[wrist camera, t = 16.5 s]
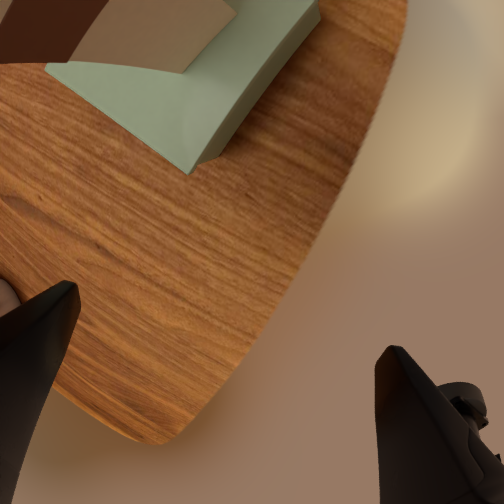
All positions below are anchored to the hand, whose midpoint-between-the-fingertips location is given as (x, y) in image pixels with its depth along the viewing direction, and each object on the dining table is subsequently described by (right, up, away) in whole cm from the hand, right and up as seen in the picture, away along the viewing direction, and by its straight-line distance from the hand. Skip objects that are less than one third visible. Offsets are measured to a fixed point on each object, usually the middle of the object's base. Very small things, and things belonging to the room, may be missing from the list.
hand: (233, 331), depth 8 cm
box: (-3, +15, +8) cm, 18 cm away
